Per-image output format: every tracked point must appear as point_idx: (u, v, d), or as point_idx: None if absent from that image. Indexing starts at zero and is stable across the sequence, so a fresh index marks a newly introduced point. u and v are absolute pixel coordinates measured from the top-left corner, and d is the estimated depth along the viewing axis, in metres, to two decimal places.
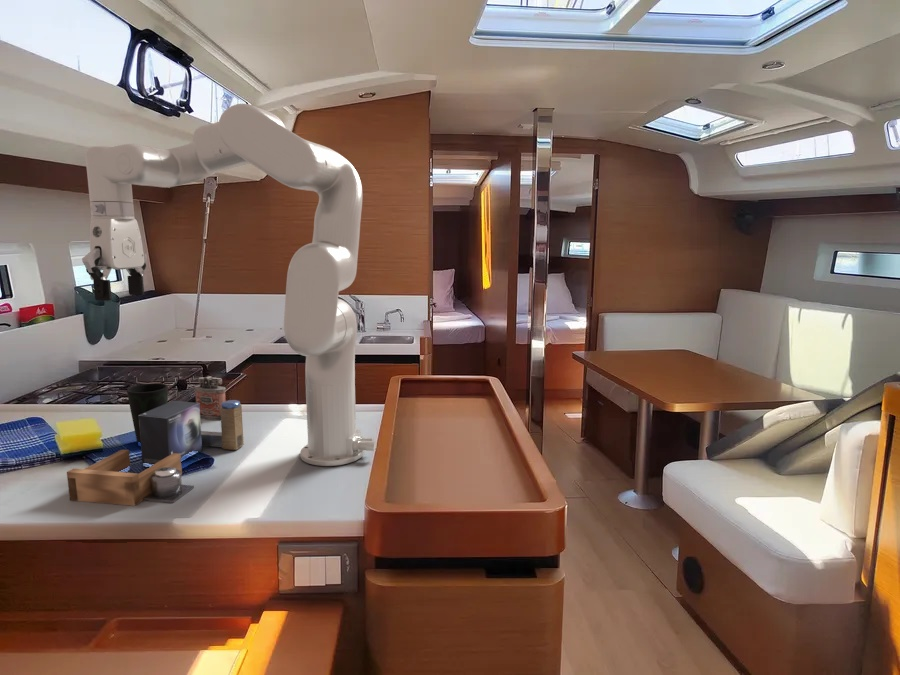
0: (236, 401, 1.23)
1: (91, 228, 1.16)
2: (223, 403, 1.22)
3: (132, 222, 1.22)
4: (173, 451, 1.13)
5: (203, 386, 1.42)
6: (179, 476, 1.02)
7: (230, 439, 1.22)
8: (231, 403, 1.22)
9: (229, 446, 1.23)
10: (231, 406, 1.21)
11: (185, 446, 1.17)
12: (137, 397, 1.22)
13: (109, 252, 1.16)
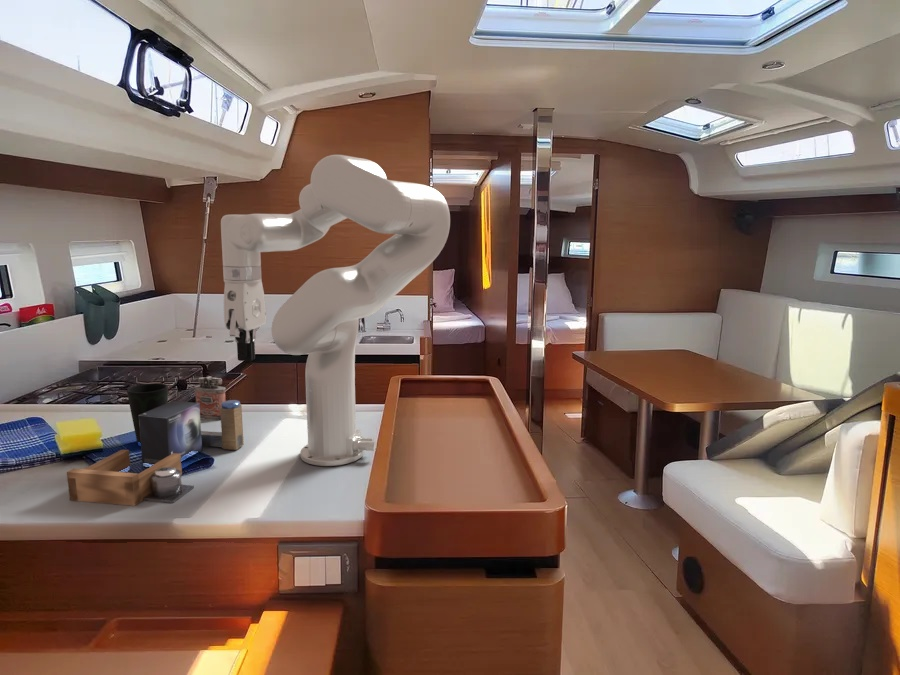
0: (236, 401, 1.23)
1: (225, 292, 1.22)
2: (223, 403, 1.22)
3: (259, 284, 1.28)
4: (173, 451, 1.13)
5: (203, 386, 1.42)
6: (179, 476, 1.02)
7: (230, 439, 1.22)
8: (231, 403, 1.22)
9: (229, 446, 1.23)
10: (231, 406, 1.21)
11: (185, 446, 1.17)
12: (137, 397, 1.21)
13: (242, 315, 1.22)
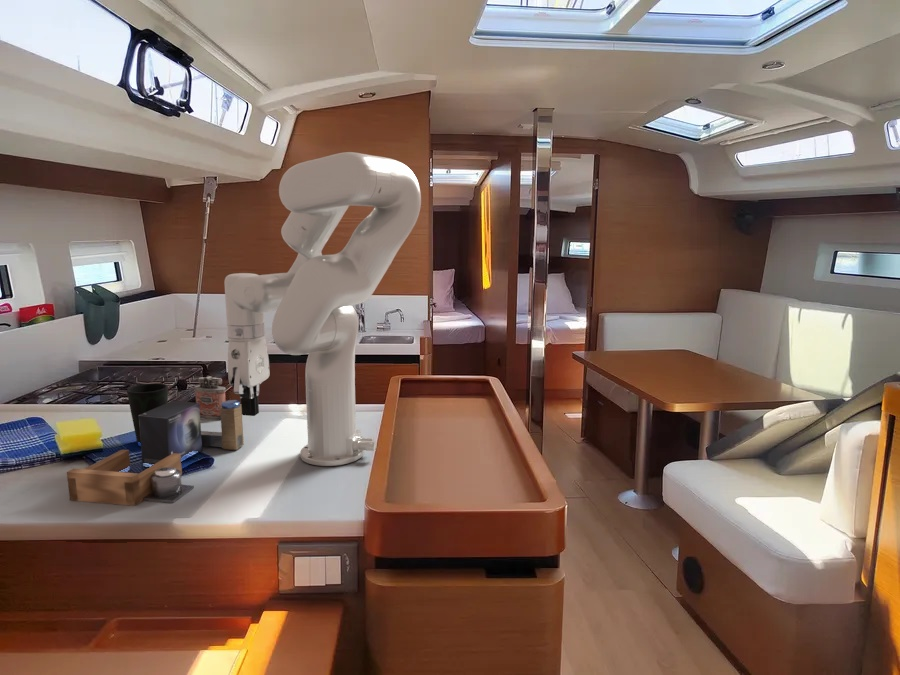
0: (236, 401, 1.23)
1: (229, 350, 1.24)
2: (223, 403, 1.22)
3: (262, 340, 1.30)
4: (173, 451, 1.13)
5: (203, 386, 1.42)
6: (179, 476, 1.02)
7: (230, 439, 1.22)
8: (231, 403, 1.22)
9: (229, 446, 1.23)
10: (231, 406, 1.21)
11: (185, 446, 1.17)
12: (137, 397, 1.21)
13: (246, 373, 1.24)
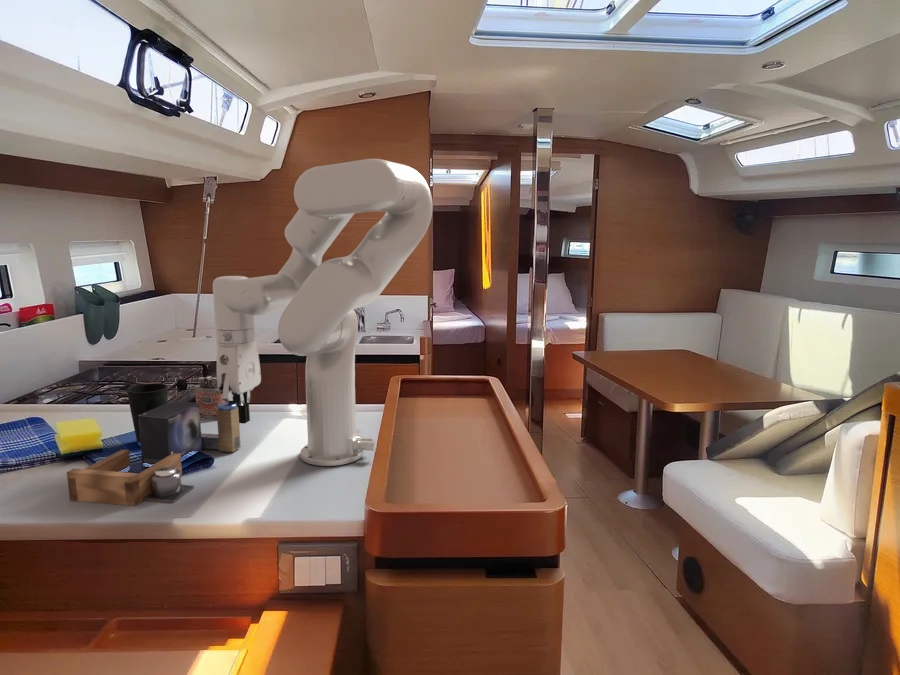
0: (233, 403, 1.22)
1: (218, 356, 1.20)
2: (220, 405, 1.20)
3: (253, 345, 1.26)
4: (173, 451, 1.13)
5: (203, 386, 1.42)
6: (179, 476, 1.02)
7: (227, 441, 1.21)
8: (228, 405, 1.20)
9: (226, 448, 1.21)
10: (228, 408, 1.20)
11: (185, 446, 1.17)
12: (137, 397, 1.21)
13: (235, 379, 1.20)
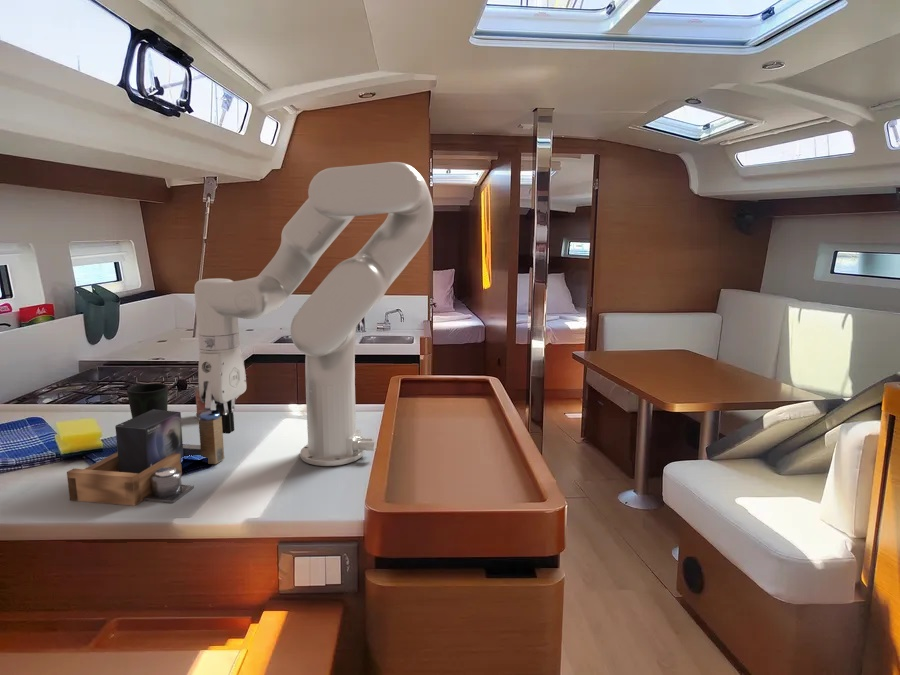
0: (216, 412, 1.16)
1: (200, 363, 1.14)
2: (202, 414, 1.14)
3: (237, 351, 1.19)
4: (153, 463, 1.07)
5: None
6: (179, 476, 1.02)
7: (209, 453, 1.15)
8: (210, 414, 1.14)
9: (208, 460, 1.15)
10: (210, 418, 1.13)
11: (165, 457, 1.10)
12: (137, 397, 1.22)
13: (218, 387, 1.14)
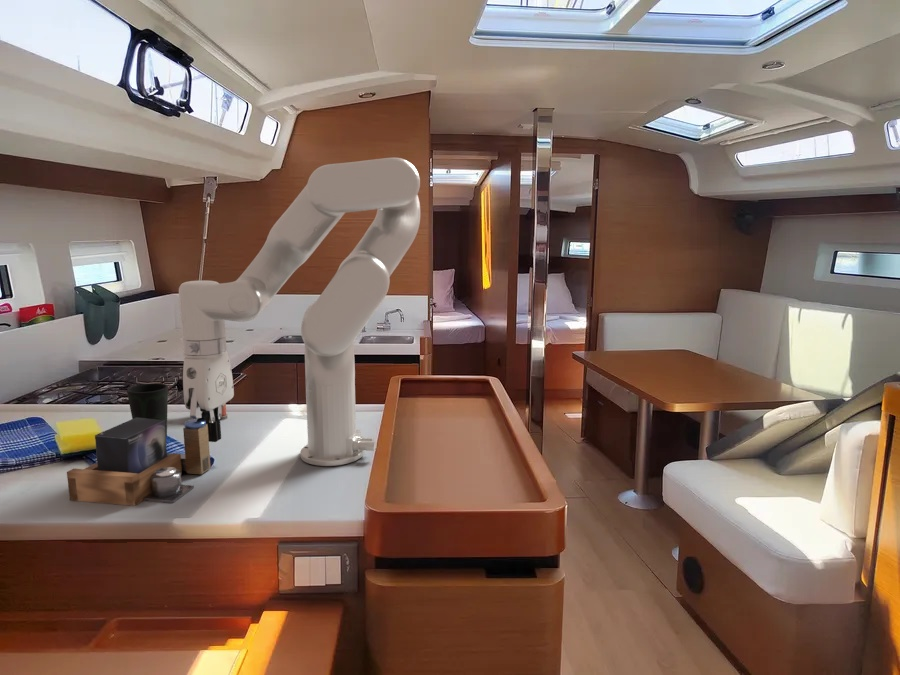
0: (201, 420, 1.11)
1: (185, 369, 1.09)
2: (187, 423, 1.09)
3: (224, 356, 1.15)
4: None
5: None
6: (179, 476, 1.02)
7: (194, 462, 1.10)
8: (195, 423, 1.10)
9: (193, 470, 1.10)
10: (195, 426, 1.09)
11: None
12: (137, 397, 1.22)
13: (204, 394, 1.09)
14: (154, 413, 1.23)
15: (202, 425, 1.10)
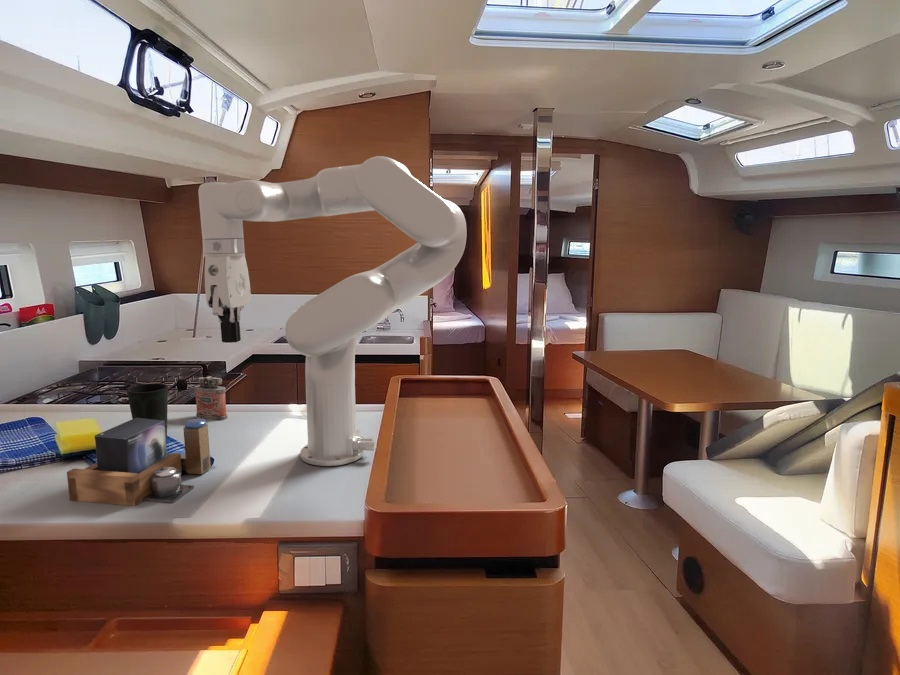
0: (202, 420, 1.11)
1: (206, 266, 1.13)
2: (187, 422, 1.10)
3: (242, 258, 1.18)
4: None
5: (203, 386, 1.42)
6: (179, 476, 1.02)
7: (195, 462, 1.10)
8: (196, 422, 1.10)
9: (194, 470, 1.10)
10: (195, 426, 1.09)
11: None
12: (137, 397, 1.22)
13: (226, 291, 1.13)
14: (154, 413, 1.23)
15: (202, 425, 1.10)
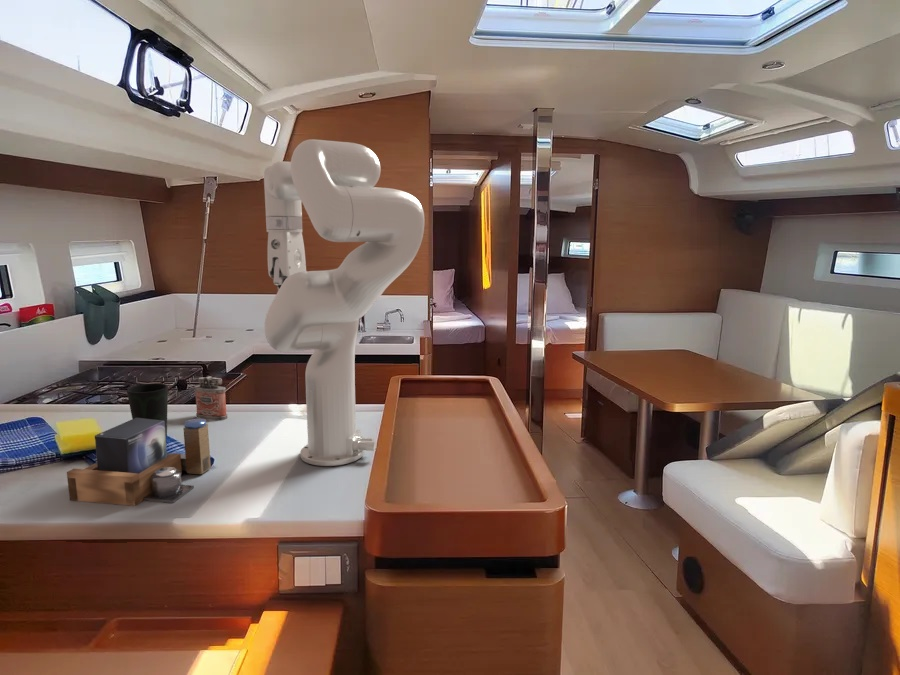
0: (202, 420, 1.11)
1: (269, 241, 1.26)
2: (187, 422, 1.10)
3: (300, 235, 1.32)
4: None
5: (203, 386, 1.42)
6: (179, 476, 1.02)
7: (195, 462, 1.10)
8: (196, 422, 1.10)
9: (194, 470, 1.10)
10: (195, 426, 1.09)
11: None
12: (137, 397, 1.22)
13: (286, 263, 1.26)
14: (154, 413, 1.23)
15: (202, 425, 1.10)
